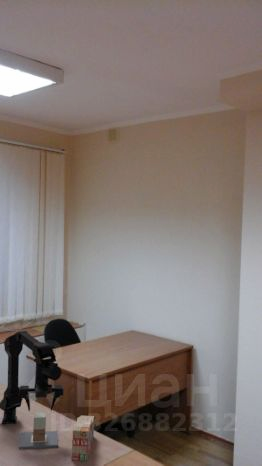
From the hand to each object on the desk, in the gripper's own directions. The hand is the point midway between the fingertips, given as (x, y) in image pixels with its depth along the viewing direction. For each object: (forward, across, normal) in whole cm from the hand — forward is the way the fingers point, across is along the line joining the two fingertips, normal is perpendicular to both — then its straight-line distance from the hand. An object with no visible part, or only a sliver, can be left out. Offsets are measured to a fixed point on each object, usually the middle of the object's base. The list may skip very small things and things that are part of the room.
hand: (40, 410), depth 185 cm
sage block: (+7, 0, 0) cm, 7 cm away
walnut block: (+12, 0, 0) cm, 12 cm away
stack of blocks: (+13, +18, -8) cm, 24 cm away
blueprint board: (+13, 0, 0) cm, 13 cm away
